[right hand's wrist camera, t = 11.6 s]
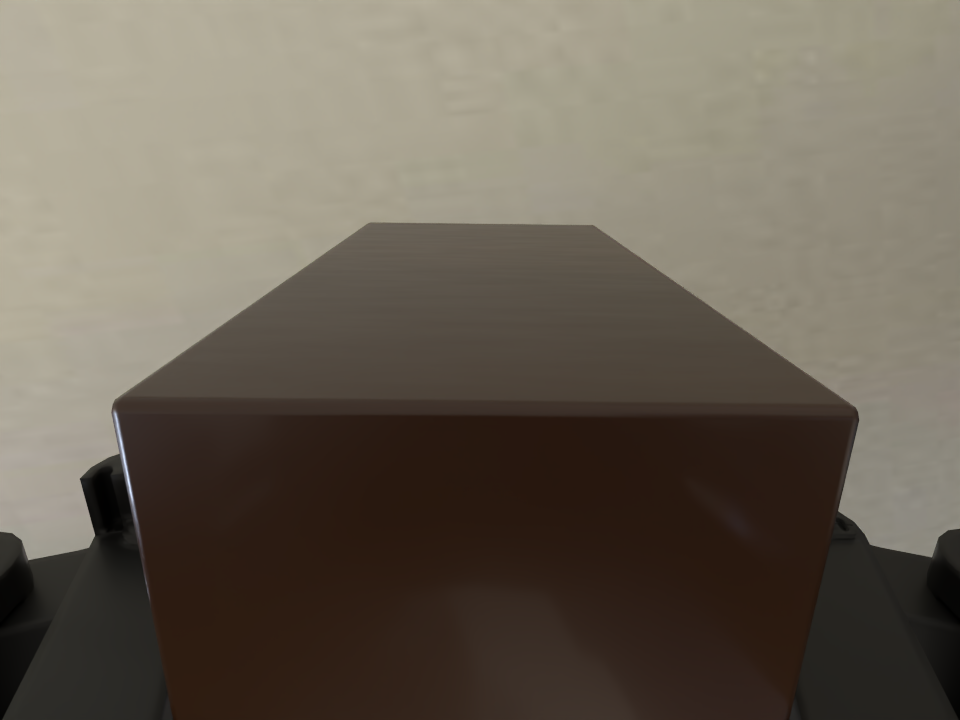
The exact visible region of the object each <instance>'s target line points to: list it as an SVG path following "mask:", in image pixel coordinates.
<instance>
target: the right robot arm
mask: <svg viewBox="0 0 960 720" xmlns="http://www.w3.org/2000/svg"><path fill="white" fill-rule="evenodd" d="M80 481H81V484H82V488H83V492H84V495H85V499H86V503H87V506H88V510H89V514H90V517H91V521H92V525H93V528H94V532H95V537H94V539H93V541H92V543H91V545H90V547H89V548H87V549H83V550H79V551H74V552H69V553H64V554H59V555H54V556H48V557H43V558H38V559H33V560H28V558H27V555H26V552H25V549H24V546H23V543H22V540H20V539H19V538H18V537H16V536H15V535H14V534H12V533H5V532H0V720H173V717H172V712H171V707H170V702H169V697H168V692H167V687H166V682H165V677H164V672H163V667H162V662H161V657H160V652H159V647H158V642H157V637H156V632H155V627H154V622H153V617H152V612H151V607H150V602H149V597H148V592H147V587H146V582H145V577H144V572H143V567H142V562H141V557H140V552H139V547H138V542H137V537H136V532H135V527H134V522H133V517H132V512H131V507H130V502H129V497H128V492H127V487H126V482H125V477H124V472H123V467H122V462H121V457H120V454H118V455H115V456H112V457H109V458H107V459H106V460H104V461H102V462H100V463H98V464H97V465H95V466H93V467H91V468H90V469H89V470H88V471H87V472H86V473H85V474H84V475H83V476H82V477H81V478H80ZM789 720H960V529H956V530H948V531H947V532H945V533H944V534H943V535H941V536H940V537H939V538H938V541H937V544H936V547H935V550H934V554H933V557H932V558H931V557H926V556H921V555H916V554H911V553H905V552H900V551H895V550H890V549H885V548H880V547H876V546H872V545H870V544H869V542H868V540H867V538H866V536H865V534H864V533H863V532H862V531H861V530H860V528H859V527H858V526H857V525H856V524H855V522H853V521H852V520H850V519H849V518H847V517H846V516H844V515H843V514H841V513H840V512H838V513H837V517H836V521H835V525H834V530H833V534H832V538H831V543H830V547H829V551H828V555H827V560H826V564H825V568H824V572H823V577H822V581H821V585H820V590H819V594H818V598H817V602H816V607H815V611H814V615H813V620H812V624H811V628H810V632H809V637H808V641H807V645H806V650H805V654H804V658H803V662H802V667H801V671H800V675H799V680H798V684H797V688H796V692H795V697H794V701H793V705H792V710H791V714H790V718H789Z"/></svg>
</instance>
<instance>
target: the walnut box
mask: <svg viewBox="0 0 960 720" xmlns="http://www.w3.org/2000/svg"><path fill="white" fill-rule="evenodd" d="M112 417H113V422H114V427H115V432H116V437H117V442H118V447H119V452H120V457H121V462H122V467H123V472H124V477H125V482H126V487H127V492H128V497H129V502H130V507H131V512H132V517H133V522H134V527H135V532H136V537H137V542H138V547H139V552H140V557H141V562H142V567H143V572H144V577H145V582H146V587H147V592H148V597H149V602H150V607H151V612H152V617H153V622H154V627H155V632H156V637H157V642H158V647H159V652H160V657H161V662H162V667H163V672H164V677H165V682H166V687H167V692H168V697H169V702H170V707H171V712H172V717H173V720H789V718H790V714H791V710H792V705H793V701H794V697H795V692H796V688H797V684H798V680H799V675H800V671H801V667H802V662H803V658H804V654H805V650H806V645H807V641H808V637H809V632H810V628H811V624H812V620H813V615H814V611H815V607H816V602H817V598H818V594H819V590H820V585H821V581H822V577H823V572H824V568H825V564H826V560H827V555H828V551H829V547H830V543H831V538H832V534H833V530H834V525H835V521H836V517H837V513H838V508H839V504H840V500H841V495H842V491H843V487H844V483H845V478H846V474H847V470H848V465H849V461H850V457H851V453H852V448H853V444H854V440H855V435H856V431H857V427H858V423H859V416H858V411H857V409H856V408H855V407H854V406H853V405H851V404H850V403H848V402H847V401H845V400H844V399H843V398H841V397H840V396H838V395H837V394H835V393H834V392H832V391H831V390H830V389H828V388H827V387H825V386H824V385H822V384H821V383H820V382H818V381H817V380H815V379H814V378H812V377H811V376H809V375H808V374H807V373H805V372H804V371H802V370H801V369H799V368H798V367H797V366H795V365H794V364H792V363H791V362H789V361H788V360H786V359H785V358H784V357H782V356H781V355H779V354H778V353H776V352H775V351H774V350H772V349H771V348H769V347H768V346H766V345H765V344H763V343H762V342H761V341H759V340H758V339H756V338H755V337H753V336H752V335H751V334H749V333H748V332H746V331H745V330H743V329H742V328H740V327H739V326H738V325H736V324H735V323H733V322H732V321H730V320H729V319H728V318H726V317H725V316H723V315H722V314H720V313H719V312H717V311H716V310H715V309H713V308H712V307H710V306H709V305H707V304H706V303H705V302H703V301H702V300H700V299H699V298H697V297H696V296H694V295H693V294H692V293H690V292H689V291H687V290H686V289H684V288H683V287H682V286H680V285H679V284H677V283H676V282H674V281H673V280H671V279H670V278H669V277H667V276H666V275H664V274H663V273H661V272H660V271H659V270H657V269H656V268H654V267H653V266H651V265H650V264H648V263H647V262H646V261H644V260H643V259H641V258H640V257H638V256H637V255H636V254H634V253H633V252H631V251H630V250H628V249H627V248H625V247H624V246H623V245H621V244H620V243H618V242H617V241H615V240H614V239H613V238H611V237H610V236H608V235H607V234H605V233H604V232H602V231H601V230H600V229H598V228H597V227H595V226H593V225H525V224H442V223H368V224H367V225H365V226H364V227H362V228H361V229H359V230H358V231H357V232H355V233H354V234H352V235H351V236H349V237H348V238H347V239H345V240H344V241H342V242H341V243H339V244H338V245H336V246H335V247H334V248H332V249H331V250H329V251H328V252H326V253H325V254H324V255H322V256H321V257H319V258H318V259H316V260H315V261H313V262H312V263H311V264H309V265H308V266H306V267H305V268H303V269H302V270H301V271H299V272H298V273H296V274H295V275H293V276H292V277H291V278H289V279H288V280H286V281H285V282H283V283H282V284H280V285H279V286H278V287H276V288H275V289H273V290H272V291H270V292H269V293H268V294H266V295H265V296H263V297H262V298H260V299H259V300H258V301H256V302H255V303H253V304H252V305H250V306H249V307H247V308H246V309H245V310H243V311H242V312H240V313H239V314H237V315H236V316H235V317H233V318H232V319H230V320H229V321H227V322H226V323H224V324H223V325H222V326H220V327H219V328H217V329H216V330H214V331H213V332H212V333H210V334H209V335H207V336H206V337H204V338H203V339H202V340H200V341H199V342H197V343H196V344H194V345H193V346H191V347H190V348H189V349H187V350H186V351H184V352H183V353H181V354H180V355H179V356H177V357H176V358H174V359H173V360H171V361H170V362H169V363H167V364H166V365H164V366H163V367H161V368H160V369H158V370H157V371H156V372H154V373H153V374H151V375H150V376H148V377H147V378H146V379H144V380H143V381H141V382H140V383H138V384H137V385H136V386H134V387H133V388H131V389H130V390H128V391H127V392H125V393H124V394H123V395H121V396H120V397H118V398H117V399H115V401H114V403H113V407H112Z"/></svg>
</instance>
